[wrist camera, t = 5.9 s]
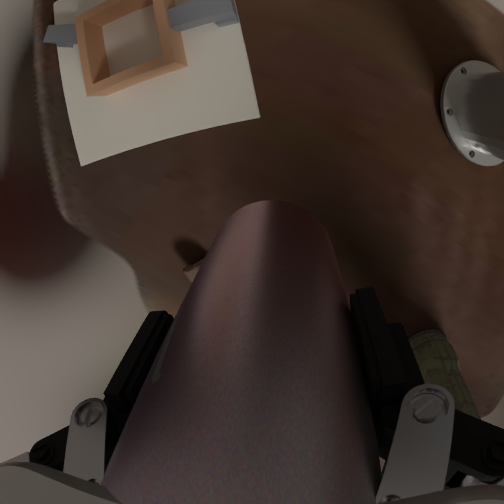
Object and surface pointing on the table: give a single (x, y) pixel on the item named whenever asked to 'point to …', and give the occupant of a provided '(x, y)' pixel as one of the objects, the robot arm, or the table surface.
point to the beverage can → (255, 379)
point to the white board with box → (149, 70)
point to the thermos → (442, 367)
